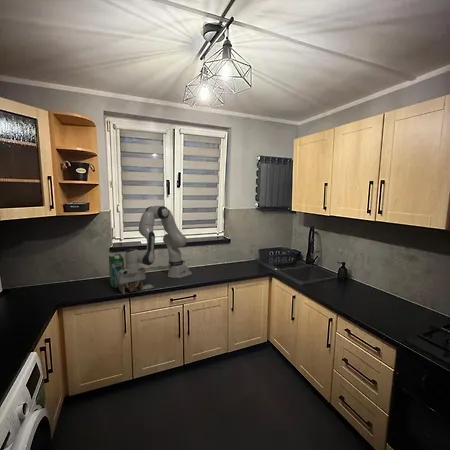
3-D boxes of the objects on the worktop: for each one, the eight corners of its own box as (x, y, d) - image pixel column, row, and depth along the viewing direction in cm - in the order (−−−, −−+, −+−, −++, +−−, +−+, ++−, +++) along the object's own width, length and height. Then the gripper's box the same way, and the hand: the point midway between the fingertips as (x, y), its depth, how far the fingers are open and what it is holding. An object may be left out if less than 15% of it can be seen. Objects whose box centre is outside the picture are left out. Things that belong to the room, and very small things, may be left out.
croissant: (137, 285, 211) (137, 278, 210) (142, 289, 201) (142, 282, 201) (118, 289, 202) (118, 282, 201) (123, 293, 192) (123, 286, 192)
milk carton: (113, 287, 205) (111, 257, 202) (110, 284, 212) (108, 255, 209) (124, 285, 211) (123, 255, 208) (121, 282, 218) (120, 253, 215)
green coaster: (149, 284, 212) (149, 284, 212) (153, 287, 206) (153, 286, 206) (140, 286, 207) (140, 286, 207) (144, 289, 201) (144, 289, 201)
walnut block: (134, 288, 201) (134, 280, 200) (136, 290, 197) (136, 282, 197) (128, 289, 198) (128, 282, 197) (130, 291, 194) (130, 283, 194)
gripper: (143, 266, 205) (144, 283, 206) (116, 271, 192) (117, 288, 194) (146, 268, 200) (147, 285, 201) (119, 273, 187) (120, 291, 189)
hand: (132, 287), depth 197 cm, fingers closed on walnut block, 5 cm apart
